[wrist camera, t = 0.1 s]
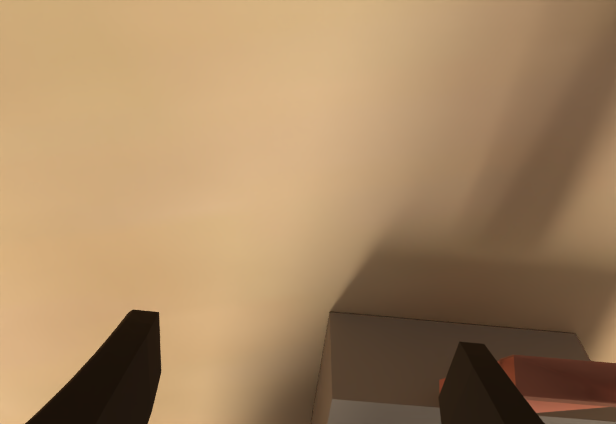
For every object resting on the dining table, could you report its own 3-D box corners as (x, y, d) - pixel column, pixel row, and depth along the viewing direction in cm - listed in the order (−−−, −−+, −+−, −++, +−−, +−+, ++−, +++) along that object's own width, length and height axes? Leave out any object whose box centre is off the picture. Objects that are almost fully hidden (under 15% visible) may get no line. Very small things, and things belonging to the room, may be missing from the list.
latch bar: (527, 385, 22) (529, 414, 22) (439, 378, 22) (439, 407, 21) (637, 365, 16) (643, 406, 15) (513, 354, 15) (516, 395, 15)
